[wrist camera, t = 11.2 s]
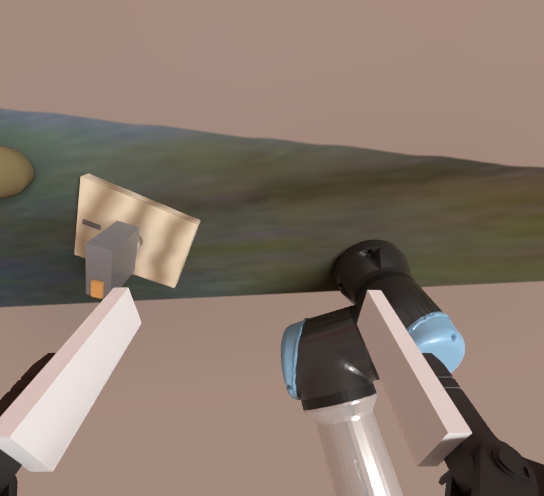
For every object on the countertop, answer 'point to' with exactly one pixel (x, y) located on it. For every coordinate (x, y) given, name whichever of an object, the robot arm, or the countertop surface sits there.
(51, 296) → the countertop surface
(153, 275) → the base
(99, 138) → the countertop surface
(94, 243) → the grey block
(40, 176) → the countertop surface
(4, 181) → the squeeze bottle
